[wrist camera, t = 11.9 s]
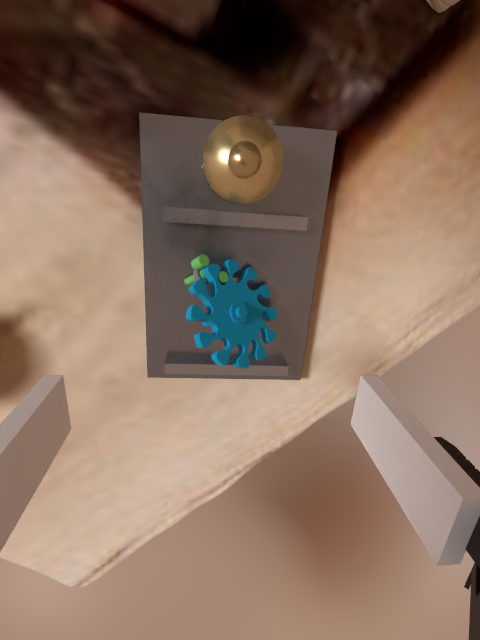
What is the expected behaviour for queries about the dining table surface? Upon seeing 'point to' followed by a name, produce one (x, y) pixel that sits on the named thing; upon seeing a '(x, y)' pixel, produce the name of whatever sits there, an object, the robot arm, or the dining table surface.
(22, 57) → the dining table surface
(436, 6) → the storage basket
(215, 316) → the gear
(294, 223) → the board
